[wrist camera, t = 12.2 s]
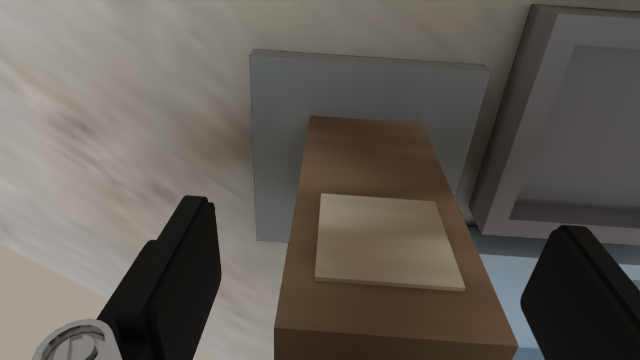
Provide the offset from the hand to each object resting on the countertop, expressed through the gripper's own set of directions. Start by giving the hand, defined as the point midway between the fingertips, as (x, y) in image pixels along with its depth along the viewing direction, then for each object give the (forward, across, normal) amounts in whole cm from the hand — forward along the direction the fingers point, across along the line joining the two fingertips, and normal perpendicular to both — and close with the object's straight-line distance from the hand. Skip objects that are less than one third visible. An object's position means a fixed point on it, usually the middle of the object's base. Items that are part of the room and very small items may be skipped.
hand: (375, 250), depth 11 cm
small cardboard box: (+5, 0, 0) cm, 5 cm away
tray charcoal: (+6, -9, -2) cm, 10 cm away
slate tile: (+6, 0, 0) cm, 6 cm away
